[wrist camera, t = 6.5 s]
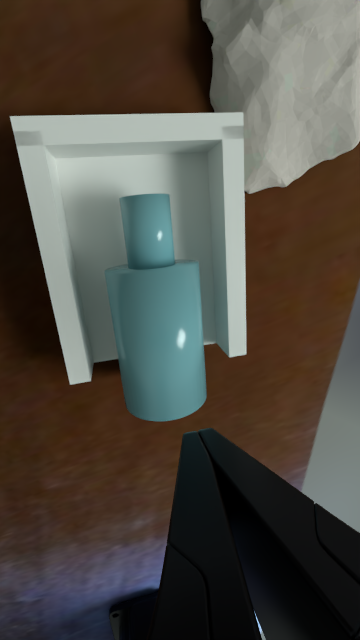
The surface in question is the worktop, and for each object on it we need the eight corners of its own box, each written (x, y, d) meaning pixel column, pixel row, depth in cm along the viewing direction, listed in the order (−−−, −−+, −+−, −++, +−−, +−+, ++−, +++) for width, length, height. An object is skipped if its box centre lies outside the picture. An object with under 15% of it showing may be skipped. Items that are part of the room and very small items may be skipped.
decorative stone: (224, -208, 12) (170, 182, 17) (248, -379, 9) (172, 175, 14) (453, -132, 13) (338, 212, 19) (558, -255, 10) (380, 213, 15)
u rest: (226, 336, 19) (246, 354, 16) (77, 359, 17) (70, 384, 14) (220, 134, 15) (243, 112, 13) (31, 139, 14) (10, 116, 11)
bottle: (218, 410, 14) (207, 186, 11) (126, 429, 13) (88, 193, 10) (194, 370, 18) (182, 198, 15) (124, 382, 17) (96, 204, 14)
